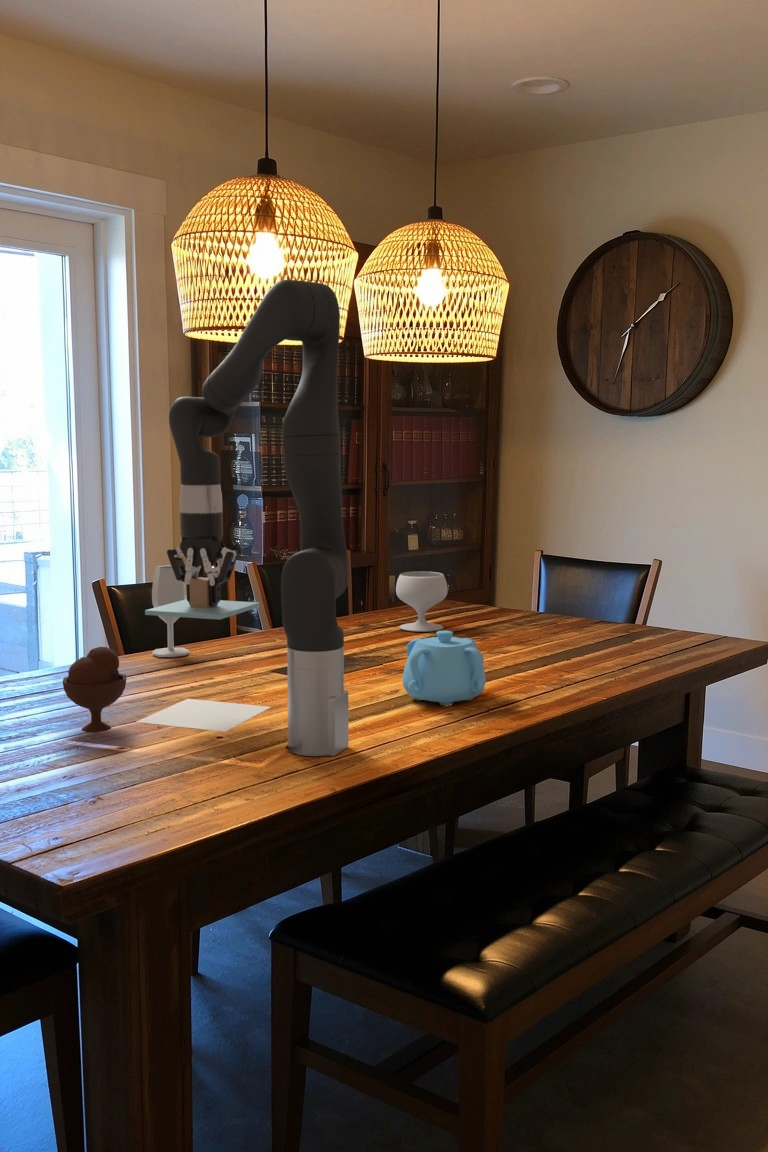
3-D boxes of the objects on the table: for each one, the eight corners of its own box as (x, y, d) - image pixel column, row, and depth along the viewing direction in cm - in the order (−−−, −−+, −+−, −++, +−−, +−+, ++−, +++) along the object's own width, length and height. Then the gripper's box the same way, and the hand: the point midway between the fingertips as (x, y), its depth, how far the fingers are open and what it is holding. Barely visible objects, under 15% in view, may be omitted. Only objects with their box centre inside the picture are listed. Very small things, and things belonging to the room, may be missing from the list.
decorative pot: (485, 711, 197) (486, 640, 196) (400, 708, 199) (401, 638, 197) (484, 690, 213) (485, 625, 212) (406, 688, 215) (406, 623, 213)
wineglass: (186, 650, 253) (185, 564, 250) (192, 657, 245) (190, 568, 242) (150, 652, 250) (147, 565, 248) (154, 659, 242) (151, 569, 239)
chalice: (444, 624, 290) (444, 570, 288) (449, 633, 276) (450, 577, 274) (394, 624, 289) (394, 570, 287) (397, 633, 275) (397, 577, 273)
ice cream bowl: (102, 720, 190) (100, 638, 188) (141, 730, 183) (139, 646, 181) (51, 732, 181) (48, 647, 180) (89, 744, 174) (86, 656, 172)
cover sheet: (259, 606, 193) (259, 575, 193) (220, 619, 179) (219, 586, 179) (188, 602, 199) (188, 572, 198) (145, 614, 185) (144, 582, 184)
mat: (271, 710, 197) (271, 706, 197) (225, 735, 180) (225, 731, 180) (187, 701, 203) (187, 698, 203) (135, 725, 186) (135, 721, 186)
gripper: (246, 509, 188) (248, 604, 190) (177, 508, 193) (180, 600, 195) (226, 512, 181) (228, 610, 183) (155, 510, 186) (158, 606, 188)
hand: (203, 604), depth 189 cm, fingers closed on cover sheet, 3 cm apart
